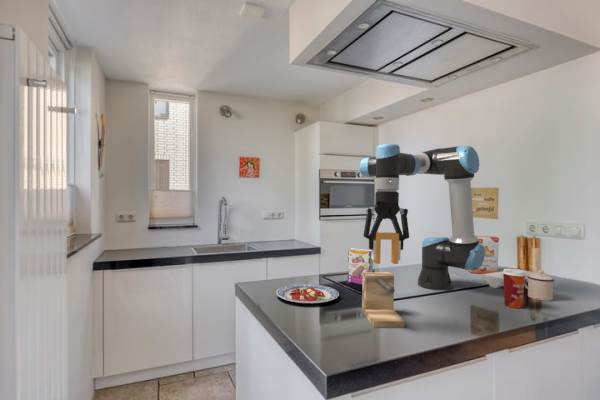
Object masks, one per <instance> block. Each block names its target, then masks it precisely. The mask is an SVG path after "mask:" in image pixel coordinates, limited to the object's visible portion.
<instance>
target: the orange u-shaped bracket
mask: <svg viewBox="0 0 600 400" xmlns="http://www.w3.org/2000/svg"><path fill="white" fill-rule="evenodd" d="M374 240H376V260H373V263H375V265H377V264H379V265H381V256H382V255H381V254H382V253H381V252H382V251H381V250H382V243H381V242H382V240H386V241H387V240H388V241H389V240H391V244H390V245H391V247H390V263H392V264H393V265H399V260H398V256H399V234H398V233H396V232H381V231H379V232H378V231H377V233H376V235H375V238H374Z"/></svg>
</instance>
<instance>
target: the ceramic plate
mask: <svg viewBox="0 0 600 400" xmlns="http://www.w3.org/2000/svg"><path fill="white" fill-rule="evenodd" d="M339 295H340V293H339V291H338V290H336V289H335V288H333V287H330V286H325V285H322V284H313V283H312V284H311V283H299V284H296V283H295V284H289V285H286V286H285V285H284V286H282V287H280V288H278V289H277V290H276V296H277V297H279V298H281V299H283V300H285V301H287V302H293V303H298V304H308V305H311V304H320V303H327V302H330V301H333V300H336V299H338V297H339Z"/></svg>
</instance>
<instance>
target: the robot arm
mask: <svg viewBox="0 0 600 400" xmlns="http://www.w3.org/2000/svg"><path fill="white" fill-rule="evenodd" d="M375 154H376V155H375V156H369V157H364V158H363V159H361V161H360V163H359V171H360V173H361V175H362V176H364V177H366V178H367V177H368V178H372V177H373V178H374V177H375V190H376V192H375V197H374V198H375V199H374V200H375V201H374V203H375V204H374V206H373V207H367V208H365V213H366V217H365V224H364V229H363V235H362V236H363V238H366V239H367V240H368V250H372V255H371V259H373V260H376V240H374V238H375V235H376V233H377V232H378V230H379V228H380V226H381V223H382V221H383V220H387V219H388V220H390V221H391V223H392V226H393V228H394V231H395V232H394V233H398V234H399V256H398V261H401V251H403V250H404V241H405V240H406V239H409V238H410V230H409V224H408V223H409V222H408V213H409V210H408V209H407V208H402V207H400V205H399V201H400V196H399V195H400V194H399V190H400V187H399V186H400V176H407V177H409V176H415V175H422V174H423V175H425V174H426V175H436V176H437V175H444V176H443V177H444V181H446V182H447V183H448V192H449V205H450V219H451V221H450V222H451V230H452V231H451V233H452V235H451V236H450V237H447V236H438V237H426V238H424V239H423V240H422V243H421V244H422V246H421V249H422V250H421V270H420V272H419V275H418V278H417V286H420V287H421V288H425V289H430V290H438V291H445V290H446V291H447V290H452V288H453V282H452V279H451V276H450V273H449V267H451V268H457V269H463V270H465V271H468V270H477V269H479V268H480V267H481V265H482V263H483V261H484V257H485V248H484V246H483V245H481V244H479V240H478V238H477V237H476V236H477V235H475V228H474V227H475V225H474V213H473V210H474V209H473V198H472V197H473V196H472V182H471V181H472V180H473V179H474V178H475V174H477V173H478V172H479V170H480V157H479V154H478V152H477V151H476V149H475V148H474V147H473V146H470V145H458V146H457V145H456V146H450V147H442V148H441V147H440V148H434V149H429V150H425V151H420V152H415V153H414V154H412V153H404V152H401V148H400V145H399V144H396V143H383V144H378V146H377V147H376V153H375ZM374 212H375V213H376V218H375V222H374V223H373V226H372V225H371V224H372V218H373V215H374ZM398 213H399V214H400V221H401V222H400V223H401V227H400V224H399V221H398V218H397V214H398ZM371 226H372V228H371ZM401 228H402V229H401ZM370 229H371V230H370Z"/></svg>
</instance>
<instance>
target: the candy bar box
mask: <svg viewBox="0 0 600 400" xmlns="http://www.w3.org/2000/svg"><path fill="white" fill-rule="evenodd" d="M347 251H348V255H347V256H348V258H347V283H351V284H357V285H361V286H362V284H363V272H373V269H374V268H373V267H374V264H373V263H374V262H373V259H371V255H372V250H370V249H365V248H364V249H362V248H356V247H351V248H349V249H347Z"/></svg>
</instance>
